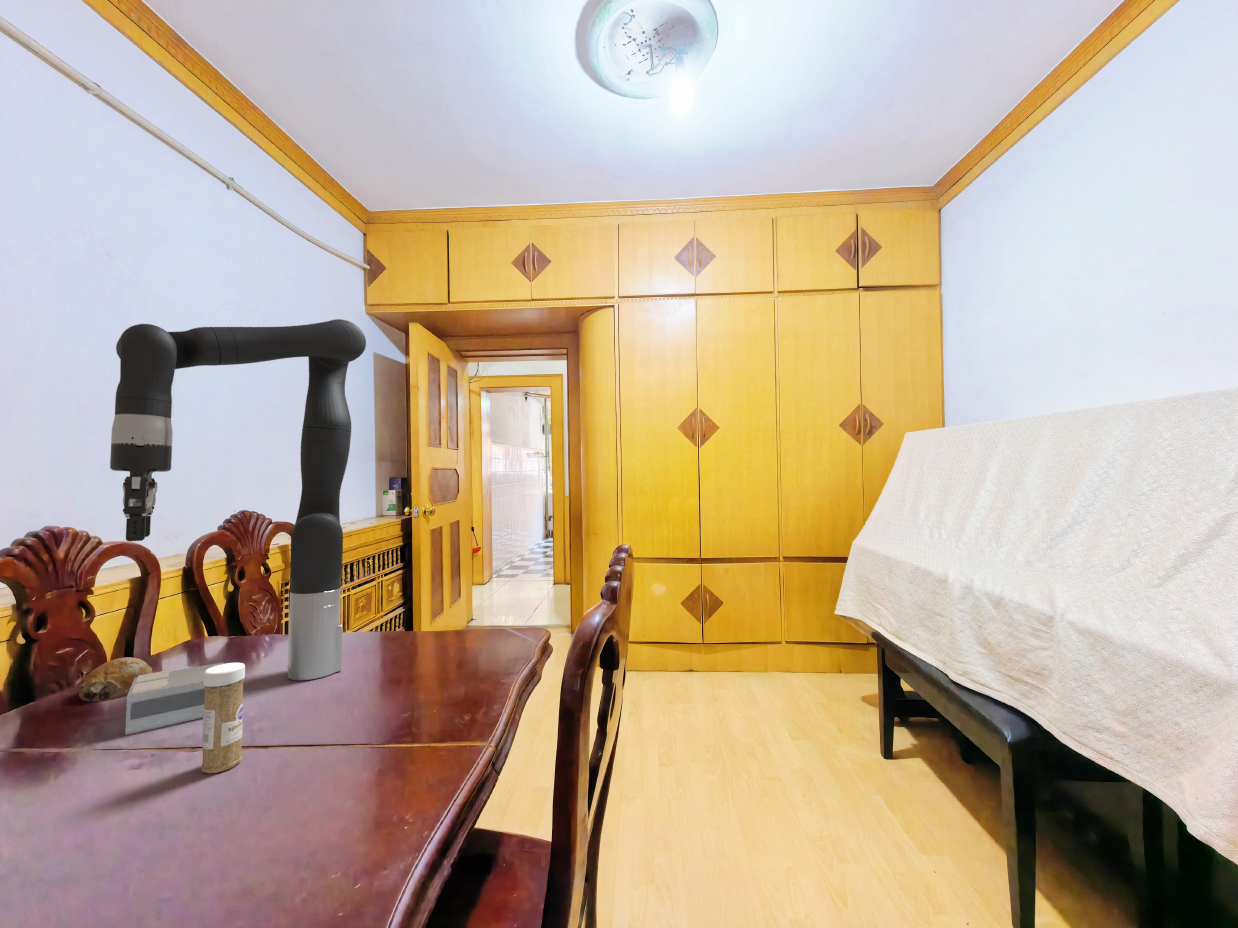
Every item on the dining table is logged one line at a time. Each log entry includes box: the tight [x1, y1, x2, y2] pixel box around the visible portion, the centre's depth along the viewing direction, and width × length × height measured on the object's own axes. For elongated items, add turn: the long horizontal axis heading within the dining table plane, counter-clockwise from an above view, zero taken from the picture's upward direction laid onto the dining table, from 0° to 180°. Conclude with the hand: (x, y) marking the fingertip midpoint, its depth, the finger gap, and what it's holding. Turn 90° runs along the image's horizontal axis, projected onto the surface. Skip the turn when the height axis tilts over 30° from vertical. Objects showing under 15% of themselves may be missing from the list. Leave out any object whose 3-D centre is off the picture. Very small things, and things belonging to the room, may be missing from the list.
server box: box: [125, 661, 225, 736], centre depth 85 cm, size 12×10×6 cm
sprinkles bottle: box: [200, 662, 246, 774], centre depth 69 cm, size 5×5×13 cm
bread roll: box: [77, 656, 154, 702], centre depth 95 cm, size 10×10×8 cm
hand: (138, 538), depth 84 cm, fingers open, 8 cm apart
